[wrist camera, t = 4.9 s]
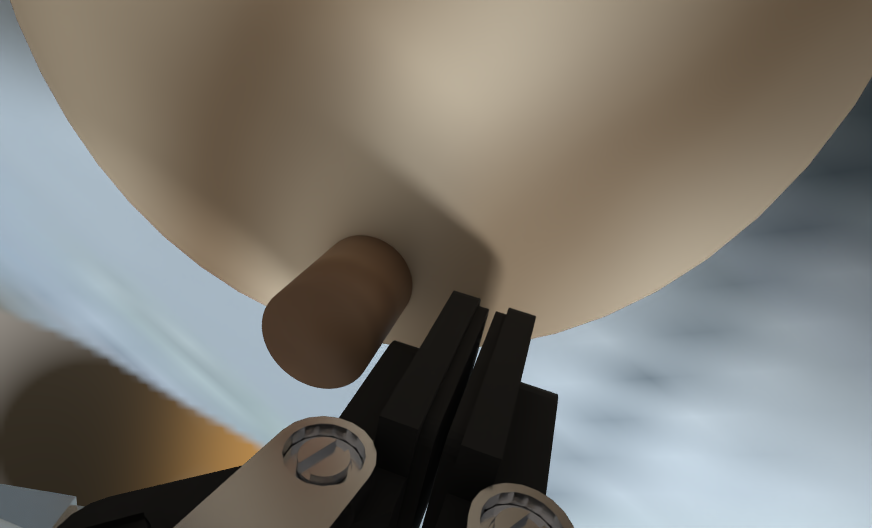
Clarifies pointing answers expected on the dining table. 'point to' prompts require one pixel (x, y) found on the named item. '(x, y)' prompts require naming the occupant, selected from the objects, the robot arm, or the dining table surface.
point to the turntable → (447, 145)
